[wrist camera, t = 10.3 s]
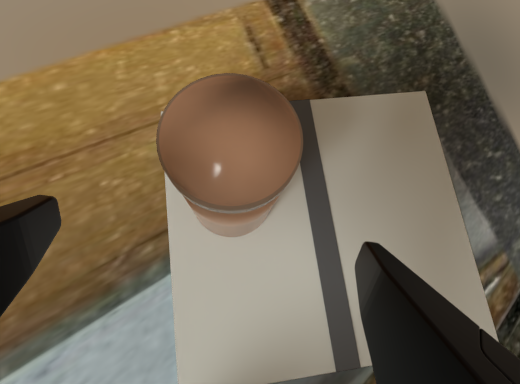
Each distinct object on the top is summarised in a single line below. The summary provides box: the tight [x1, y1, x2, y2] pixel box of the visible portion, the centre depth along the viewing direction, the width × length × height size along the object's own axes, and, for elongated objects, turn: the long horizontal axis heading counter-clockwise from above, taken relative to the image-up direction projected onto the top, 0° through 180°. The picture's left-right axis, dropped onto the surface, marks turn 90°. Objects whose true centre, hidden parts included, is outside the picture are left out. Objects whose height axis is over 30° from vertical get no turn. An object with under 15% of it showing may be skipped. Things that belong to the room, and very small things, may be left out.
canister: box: [156, 73, 303, 237], centre depth 17 cm, size 6×6×10 cm
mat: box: [161, 91, 499, 384], centre depth 22 cm, size 19×21×1 cm
